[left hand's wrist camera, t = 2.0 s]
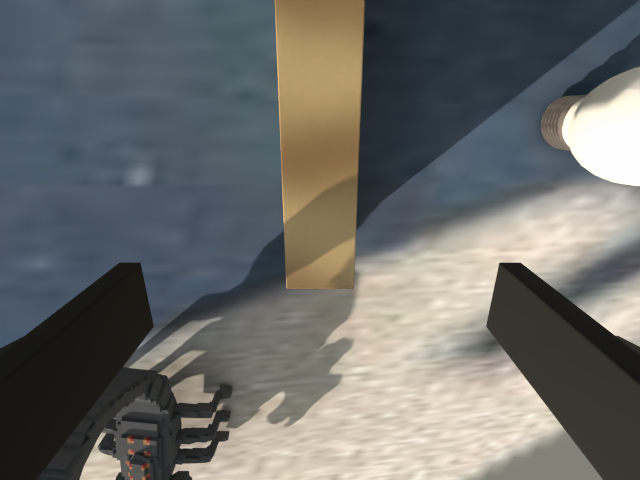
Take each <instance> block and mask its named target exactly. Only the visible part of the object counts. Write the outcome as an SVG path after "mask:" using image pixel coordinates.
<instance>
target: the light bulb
mask: <svg viewBox="0 0 640 480" xmlns="http://www.w3.org/2000/svg"><path fill="white" fill-rule="evenodd" d="M541 131H542V134H543V137H544V139H545V140H546V141H547V143H549V144H550V145H551V146H553V147H555V148H557V149H562V150H568V151H571V152H572V154H573V155H574V157H575V158H576V159H577V161H578V162H579V163H580V164H581V166H583V167H584V168H585V169H587V170H588V171H590V172H591V173H593V174H594V175H596V176H598V177H601V178H603V179H606V180H608V181H611V182H615V183H620V184H627V185H633V186H640V67H637V68H633V69H630V70H628V71H626V72H623V73H621V74H619V75H616V76H614V77H612V78H610V79H608V80H607V81H605V82H604V83H602V84H600V85H599V86H598V87H596V88H595V89H593V90H592V91H591V92H590V93H589V94H588V95H576V96H565V97H561V98H559V99H557V100H555V101H554V102H552V103H551V104H550V105H549V106H548V108H547V109H546V110H545V112H544V114H543V117H542V121H541Z"/></svg>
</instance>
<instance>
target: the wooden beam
mask: <svg viewBox="0 0 640 480" xmlns="http://www.w3.org/2000/svg"><path fill="white" fill-rule="evenodd" d="M275 17H276V42H277V67H278V92H279V117H280V142H281V167H282V192H283V217H284V242H285V267H286V288H287V289H353V288H354V267H355V242H356V217H357V192H358V167H359V142H360V117H361V92H362V67H363V42H364V17H365V0H275Z"/></svg>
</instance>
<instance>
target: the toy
mask: <svg viewBox="0 0 640 480" xmlns="http://www.w3.org/2000/svg"><path fill="white" fill-rule="evenodd" d="M231 393H232V387H229V386H221V387H220V391H217V392H216V393H215V395H214V398H213V400H212V402H210V403H198V404H187V403H178V404H177V402H176V399H175V397H174V394H173V392H172V391H171V388H170V385H169V382H168V378H167V376H164V375H161V374H157V372H156V371H150V370H141V369H131V368H123V367H122V369H121V370H120V371H119V373H118V374H117V375H116V376H115V378H114V379H113V380H112V382H111V383H110V384H109V386H108V387H107V388H106V390H105V391H104V392H103V394H102V395H101V396H100V397H99V399H98V400H97V401H96V403H95V404H94V405H93V407H92V408H91V409H90V411H89V412H88V413H87V415H86V416H85V417H84V418H83V420H82V421H81V422H80V424H79V425H78V426H77V428H76V429H75V430H74V432H73V433H72V434H71V436H70V437H69V438H68V439H67V441H66V442H65V443H64V445H63V446H62V447H61V449H60V450H59V451H58V453H57V454H56V455H55V457H54V458H53V459H52V460H51V462H50V463H49V464H48V466H47V467H46V468H45V470H44V471H43V472H42V474H41V475H40V476H39V478H38V479H37V480H79V479H80V476H81V473H82V470H83V467H84V465H85V463H86V461H87V459H88V457H89V455H90V453H91V451H92V449H93V447H94V445H95V443H96V441H97V439H98V437H99V435H100V434H101V432H103V433H106V435H105V436H104V438H103V439H102V441H101V442H100V444H99V445H98V448H99V451H100V452H102V453H104V454H107V455H111V456H112V457H113V458H117V460H120V463H121V472H120V473H119V474H118V476H117V477H116V480H192V477H190V476H189V471H178V472H176V473H175V474H173V475H172V473H173V470H174V468H175V464H181V465H182V463H206V462H210V461H211V459H212V457H213V456H214V453H215V451H216V448H217V445H218V443H219V442H220V441H226V440H228V437H229V431H217V429H218V426H219V423H220V422H223V421H228V420H229V418H230V412H227V411H218V410H217V411H216V409H217V405H218V402H219V401H220V400H221V399H225V398H230V397H231ZM213 412H216V414H215V417H214V420H213V423H212V424H209V426H208V428H185V429H181V417H186V418H212V415H213ZM115 416H116V419H113V418H114V417H115ZM114 438H115V441H114ZM210 440H212V442H211V444H210V445H209V446H208V447H207V448H193V449H180V445H181V444H191V443H195V442H207V441H210Z"/></svg>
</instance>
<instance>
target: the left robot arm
mask: <svg viewBox="0 0 640 480" xmlns="http://www.w3.org/2000/svg"><path fill="white" fill-rule="evenodd" d="M153 327H154V326H153V321H152V316H151V311H150V306H149V301H148V297H147V292H146V287H145V282H144V277H143V273H142V268H141V263H119V264H117V265H116V266H115V267H113V268H112V269H111V270H110V271H108V272H107V273H106V274H104V275H103V276H102V277H101V278H99V279H98V280H97V281H95V282H94V283H93V284H91V285H90V286H89V287H88V288H86V289H85V290H84V291H82V292H81V293H80V294H79V295H77V296H76V297H75V298H73V299H72V300H71V301H69V302H68V303H67V304H66V305H64V306H63V307H62V308H60V309H59V310H58V311H57V312H55V313H54V314H53V315H51V316H50V317H49V318H47V319H46V320H45V321H44V322H42V323H41V324H40V325H38V326H37V327H36V328H34V329H33V330H32V331H31V332H29V333H28V334H27V335H25V336H24V337H22V338H20V339H18V340H16V341H14V342H12V343H10V344H8V345H6V346H4V347H2V348H0V480H37V479H38V478H39V476H40V475H41V474H42V472H43V471H44V470H45V468H46V467H47V466H48V464H49V463H50V462H51V460H52V459H53V458H54V457H55V455H56V454H57V453H58V451H59V450H60V449H61V447H62V446H63V445H64V443H65V442H66V441H67V439H68V438H69V437H70V436H71V434H72V433H73V432H74V430H75V429H76V428H77V426H78V425H79V424H80V422H81V421H82V420H83V418H84V417H85V416H86V415H87V413H88V412H89V411H90V409H91V408H92V407H93V405H94V404H95V403H96V401H97V400H98V399H99V397H100V396H101V395H102V394H103V392H104V391H105V390H106V388H107V387H108V386H109V384H110V383H111V382H112V380H113V379H114V378H115V376H116V375H117V374H118V373H119V371H120V370H121V369H122V367H123V366H124V365H125V363H126V362H127V361H128V359H129V358H130V357H131V355H132V354H133V353H134V352H135V350H136V349H137V348H138V346H139V345H140V344H141V342H142V341H143V340H144V338H145V337H146V336H147V334H148V333H149V332H150V331H151V329H152V328H153ZM486 327H487V328H488V329H489V331H490V332H491V333H492V334H493V336H494V337H495V338H496V340H497V341H498V342H499V344H500V345H501V346H502V348H503V349H504V350H505V352H506V353H507V354H508V355H509V357H510V358H511V359H512V361H513V362H514V363H515V365H516V366H517V367H518V369H519V370H520V371H521V373H522V374H523V375H524V376H525V378H526V379H527V380H528V382H529V383H530V384H531V386H532V387H533V388H534V390H535V391H536V392H537V394H538V395H539V396H540V397H541V399H542V400H543V401H544V403H545V404H546V405H547V407H548V408H549V409H550V411H551V412H552V413H553V415H554V416H555V417H556V418H557V420H558V421H559V422H560V424H561V425H562V426H563V428H564V429H565V430H566V432H567V433H568V434H569V436H570V437H571V438H572V439H573V441H574V442H575V443H576V445H577V446H578V447H579V449H580V450H581V451H582V453H583V454H584V455H585V457H586V458H587V459H588V460H589V462H590V463H591V464H592V466H593V467H594V468H595V470H596V471H597V472H598V474H599V475H600V476H601V477H602V479H603V480H640V347H639V346H637V345H635V344H633V343H631V342H629V341H627V340H625V339H623V338H621V337H619V336H615V335H613V334H612V333H611V332H609V331H608V330H607V329H606V328H604V327H603V326H602V325H600V324H599V323H598V322H596V321H595V320H594V319H593V318H591V317H590V316H589V315H587V314H586V313H585V312H583V311H582V310H581V309H580V308H578V307H577V306H576V305H574V304H573V303H572V302H571V301H569V300H568V299H567V298H565V297H564V296H563V295H561V294H560V293H559V292H558V291H556V290H555V289H554V288H552V287H551V286H550V285H549V284H547V283H546V282H545V281H543V280H542V279H541V278H539V277H538V276H537V275H536V274H534V273H533V272H532V271H530V270H529V269H528V268H527V267H525V266H524V265H523V264H521V263H499V268H498V273H497V277H496V282H495V287H494V292H493V297H492V301H491V306H490V311H489V316H488V321H487V326H486Z"/></svg>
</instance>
